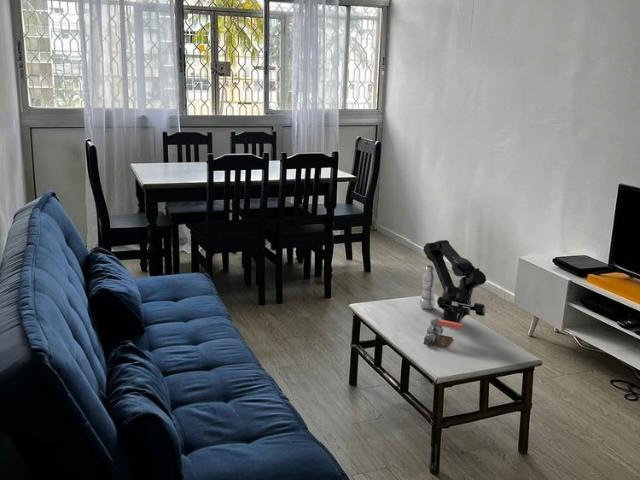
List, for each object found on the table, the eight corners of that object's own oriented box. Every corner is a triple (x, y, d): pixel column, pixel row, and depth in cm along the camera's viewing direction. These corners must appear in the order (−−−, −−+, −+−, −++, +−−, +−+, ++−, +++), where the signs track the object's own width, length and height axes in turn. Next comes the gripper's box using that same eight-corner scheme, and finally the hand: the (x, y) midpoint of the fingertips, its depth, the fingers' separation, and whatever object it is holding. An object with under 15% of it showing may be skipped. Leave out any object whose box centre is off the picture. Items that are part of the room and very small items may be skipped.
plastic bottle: (426, 304, 290) (429, 263, 284) (437, 308, 285) (440, 267, 279) (416, 307, 286) (419, 266, 280) (428, 312, 281) (431, 269, 275)
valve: (431, 333, 258) (432, 318, 256) (453, 338, 254) (454, 323, 252) (422, 344, 248) (423, 329, 246) (444, 349, 244) (446, 333, 242)
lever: (431, 322, 252) (432, 316, 251) (462, 328, 246) (463, 322, 246) (429, 324, 249) (429, 319, 248) (460, 331, 244) (461, 325, 243)
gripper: (490, 303, 257) (481, 338, 250) (445, 295, 265) (436, 328, 258) (487, 291, 248) (478, 326, 241) (441, 283, 256) (432, 317, 249)
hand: (456, 325), depth 248 cm, fingers closed
